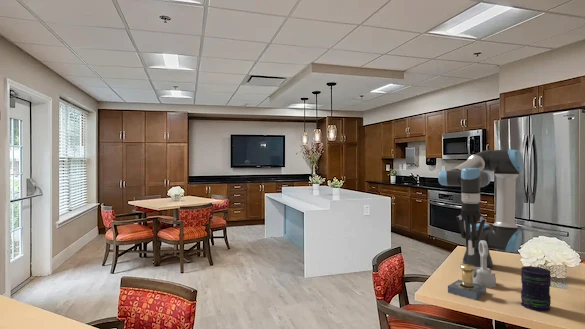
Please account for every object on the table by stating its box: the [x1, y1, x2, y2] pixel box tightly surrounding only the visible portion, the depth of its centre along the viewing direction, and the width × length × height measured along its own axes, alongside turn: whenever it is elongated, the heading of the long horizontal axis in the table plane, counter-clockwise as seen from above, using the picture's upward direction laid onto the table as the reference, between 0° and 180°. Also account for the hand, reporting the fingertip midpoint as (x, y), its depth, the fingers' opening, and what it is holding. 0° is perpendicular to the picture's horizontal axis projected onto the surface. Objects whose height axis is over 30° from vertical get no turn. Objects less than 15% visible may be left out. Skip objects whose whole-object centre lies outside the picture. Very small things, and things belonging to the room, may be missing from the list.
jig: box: [447, 279, 487, 301], centre depth 159 cm, size 12×12×3 cm
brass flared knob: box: [459, 263, 475, 288], centre depth 159 cm, size 6×6×12 cm
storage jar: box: [520, 265, 552, 313], centre depth 143 cm, size 10×10×15 cm
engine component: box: [473, 240, 497, 289], centre depth 170 cm, size 11×20×10 cm
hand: (471, 254), depth 160 cm, fingers closed
